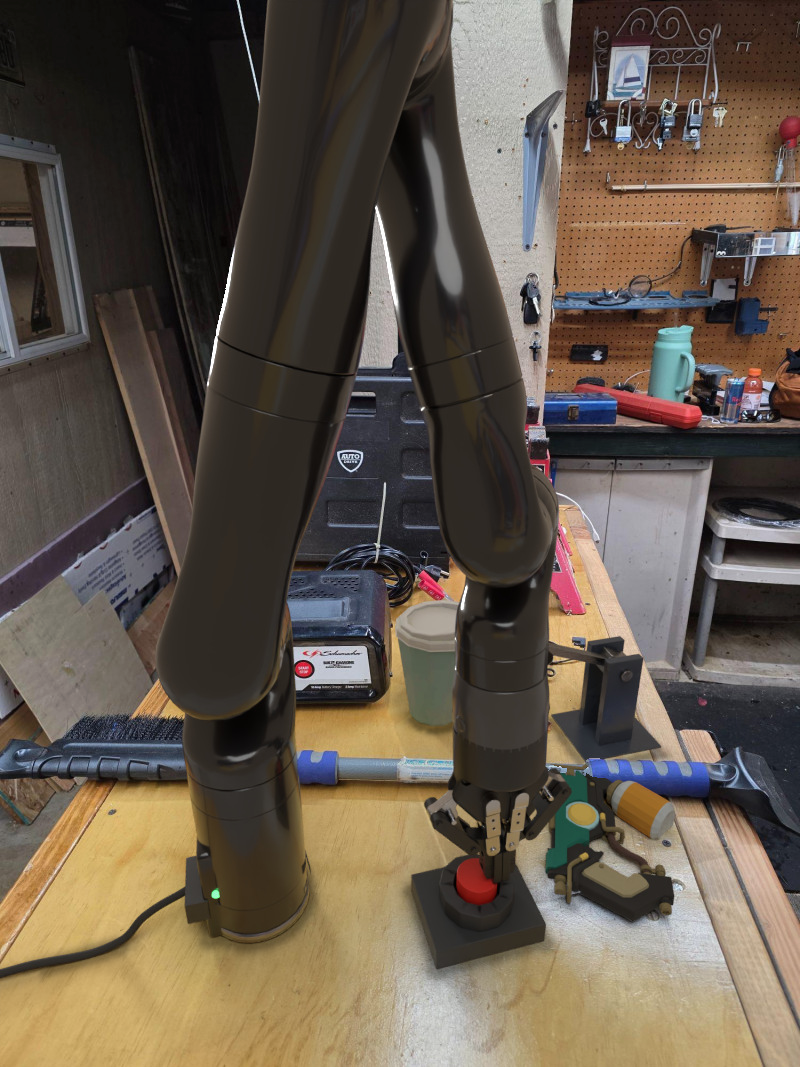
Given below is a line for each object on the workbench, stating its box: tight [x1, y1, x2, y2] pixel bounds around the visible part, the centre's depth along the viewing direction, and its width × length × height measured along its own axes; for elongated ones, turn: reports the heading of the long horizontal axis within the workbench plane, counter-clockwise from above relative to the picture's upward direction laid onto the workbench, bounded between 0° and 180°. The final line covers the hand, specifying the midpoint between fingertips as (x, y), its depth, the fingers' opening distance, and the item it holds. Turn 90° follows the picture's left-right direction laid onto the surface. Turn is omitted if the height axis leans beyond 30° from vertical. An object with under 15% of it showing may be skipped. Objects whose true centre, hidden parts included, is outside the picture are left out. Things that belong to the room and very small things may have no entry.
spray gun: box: [545, 763, 676, 923], centre depth 69 cm, size 4×17×15 cm
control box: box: [410, 853, 547, 970], centre depth 62 cm, size 10×8×4 cm
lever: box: [548, 642, 628, 673], centre depth 79 cm, size 13×6×2 cm, turn 105°
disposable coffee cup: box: [394, 599, 460, 727], centre depth 87 cm, size 11×11×15 cm
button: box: [456, 858, 497, 905], centre depth 61 cm, size 4×4×2 cm
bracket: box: [550, 635, 662, 764], centre depth 83 cm, size 10×9×13 cm
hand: (496, 874), depth 61 cm, fingers closed
